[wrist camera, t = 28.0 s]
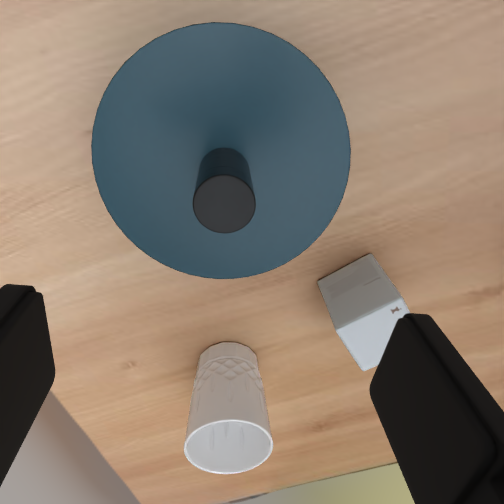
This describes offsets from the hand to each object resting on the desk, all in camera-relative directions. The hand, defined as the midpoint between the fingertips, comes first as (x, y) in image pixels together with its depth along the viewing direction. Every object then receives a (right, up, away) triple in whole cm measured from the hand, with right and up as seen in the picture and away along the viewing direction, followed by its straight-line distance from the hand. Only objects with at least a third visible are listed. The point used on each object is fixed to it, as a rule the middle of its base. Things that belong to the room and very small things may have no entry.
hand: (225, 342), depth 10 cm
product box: (+11, -1, +27) cm, 29 cm away
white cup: (-2, -10, +31) cm, 33 cm away
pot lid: (-1, +8, +14) cm, 16 cm away
